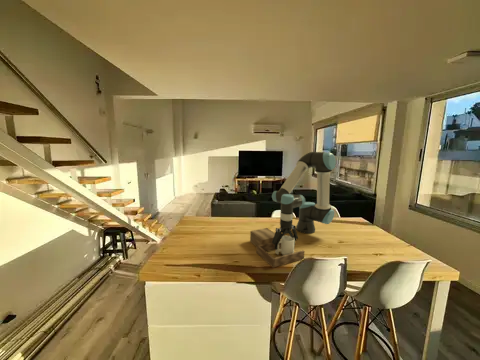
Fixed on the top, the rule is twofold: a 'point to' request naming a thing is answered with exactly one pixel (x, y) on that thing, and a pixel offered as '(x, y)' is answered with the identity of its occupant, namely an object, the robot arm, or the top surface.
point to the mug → (287, 245)
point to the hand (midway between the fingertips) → (284, 251)
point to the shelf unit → (271, 248)
